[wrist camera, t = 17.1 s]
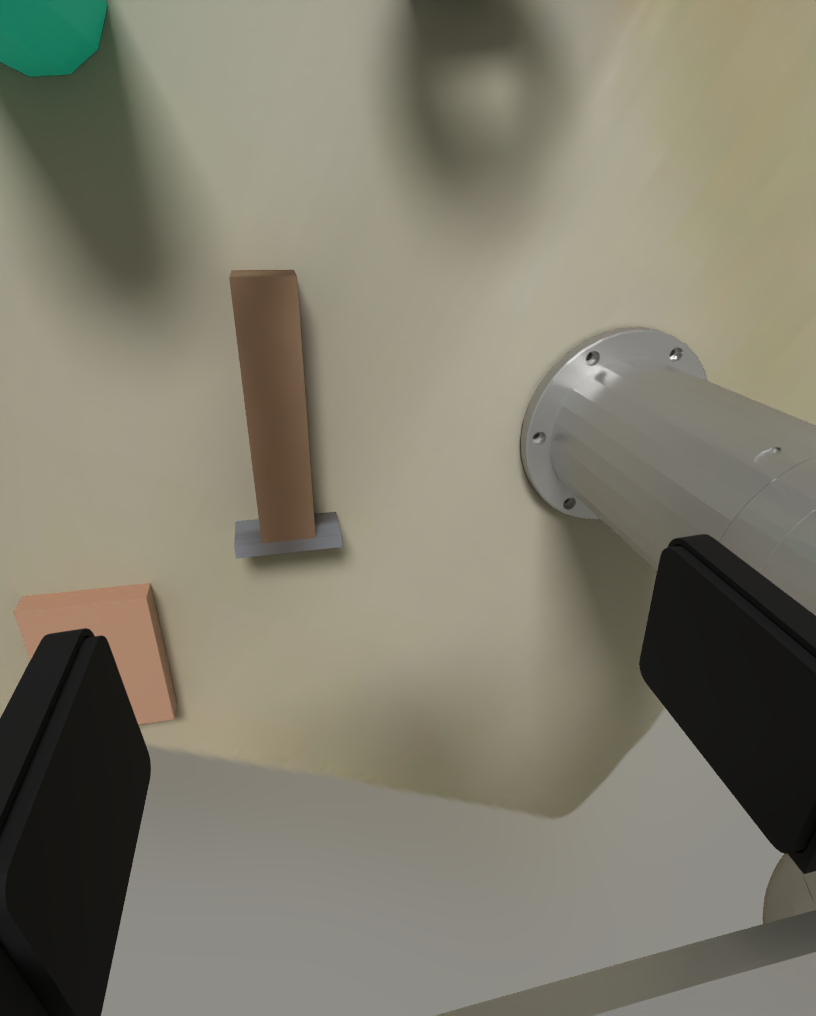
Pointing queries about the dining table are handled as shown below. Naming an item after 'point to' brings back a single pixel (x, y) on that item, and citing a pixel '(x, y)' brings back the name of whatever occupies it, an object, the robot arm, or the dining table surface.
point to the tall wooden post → (276, 418)
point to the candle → (49, 34)
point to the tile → (111, 638)
